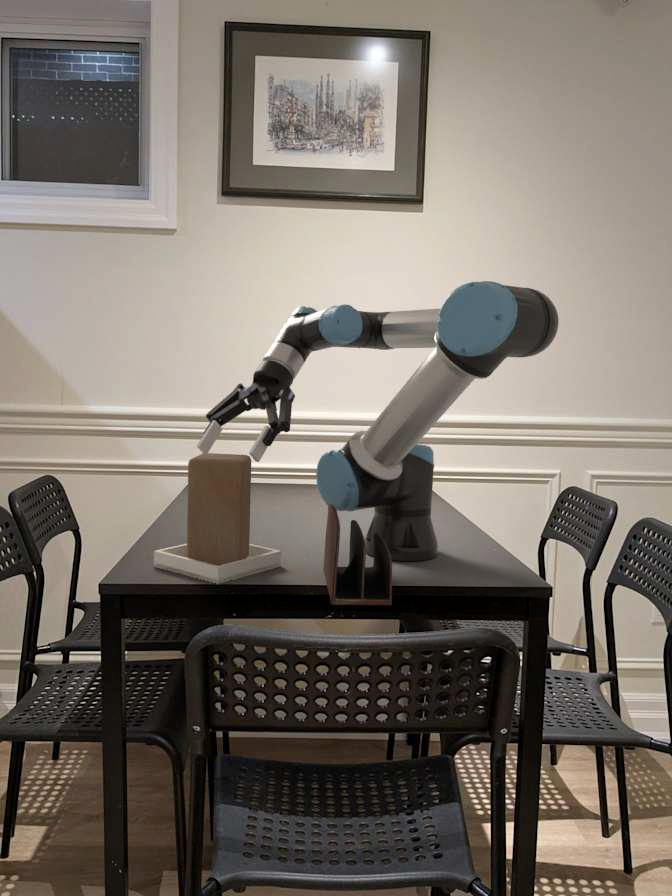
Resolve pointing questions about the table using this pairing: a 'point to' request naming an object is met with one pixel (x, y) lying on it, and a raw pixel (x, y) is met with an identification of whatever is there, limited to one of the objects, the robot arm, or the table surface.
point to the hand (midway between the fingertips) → (226, 454)
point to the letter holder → (356, 567)
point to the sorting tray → (253, 564)
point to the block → (218, 508)
